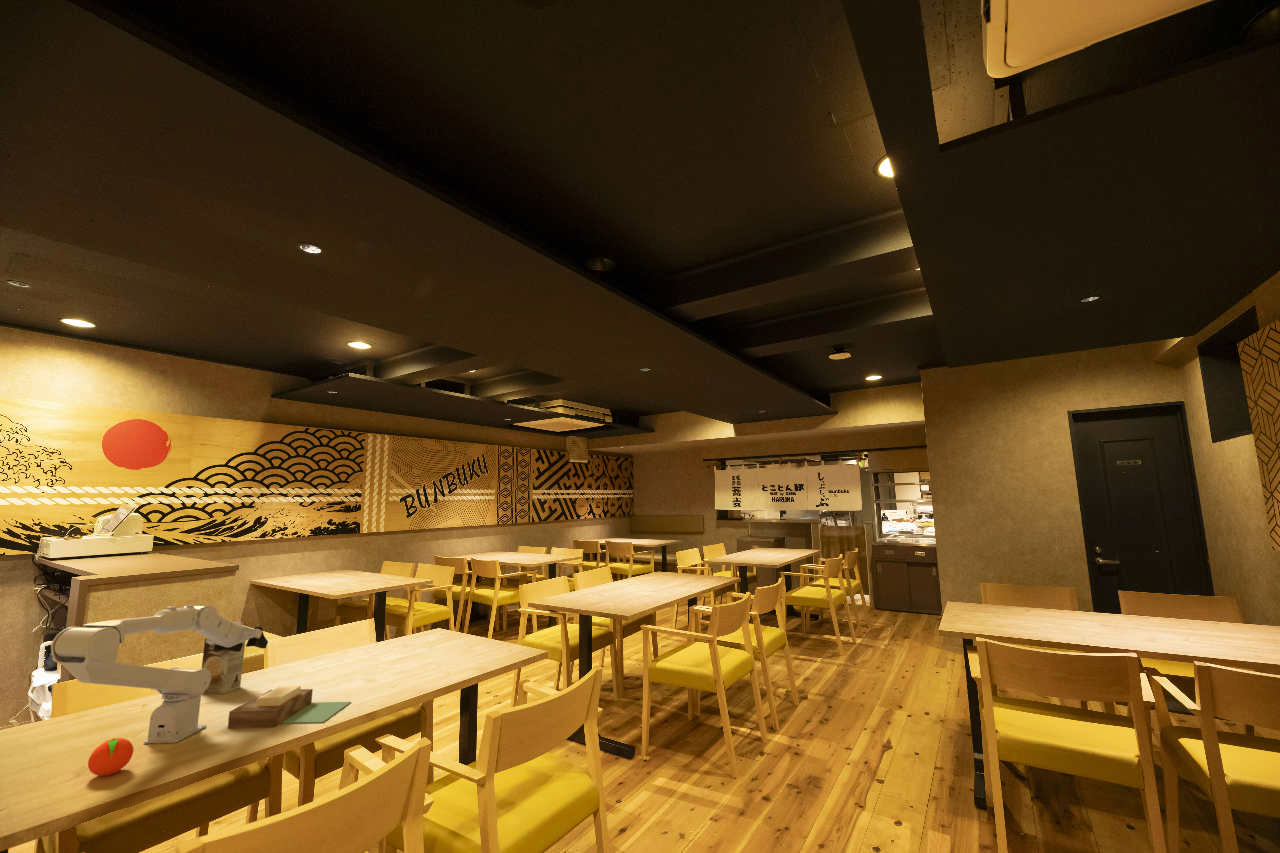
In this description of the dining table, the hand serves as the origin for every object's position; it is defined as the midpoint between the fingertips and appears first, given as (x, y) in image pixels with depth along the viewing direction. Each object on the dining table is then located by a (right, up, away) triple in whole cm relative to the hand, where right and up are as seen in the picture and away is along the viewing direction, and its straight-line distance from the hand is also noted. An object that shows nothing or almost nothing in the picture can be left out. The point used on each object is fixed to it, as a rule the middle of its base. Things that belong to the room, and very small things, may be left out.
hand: (253, 646), depth 153 cm
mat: (+25, -14, -10) cm, 31 cm away
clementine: (0, -10, -42) cm, 43 cm away
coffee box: (-17, -18, +9) cm, 26 cm away
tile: (+15, -10, -10) cm, 21 cm away
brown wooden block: (+14, -14, -11) cm, 22 cm away
